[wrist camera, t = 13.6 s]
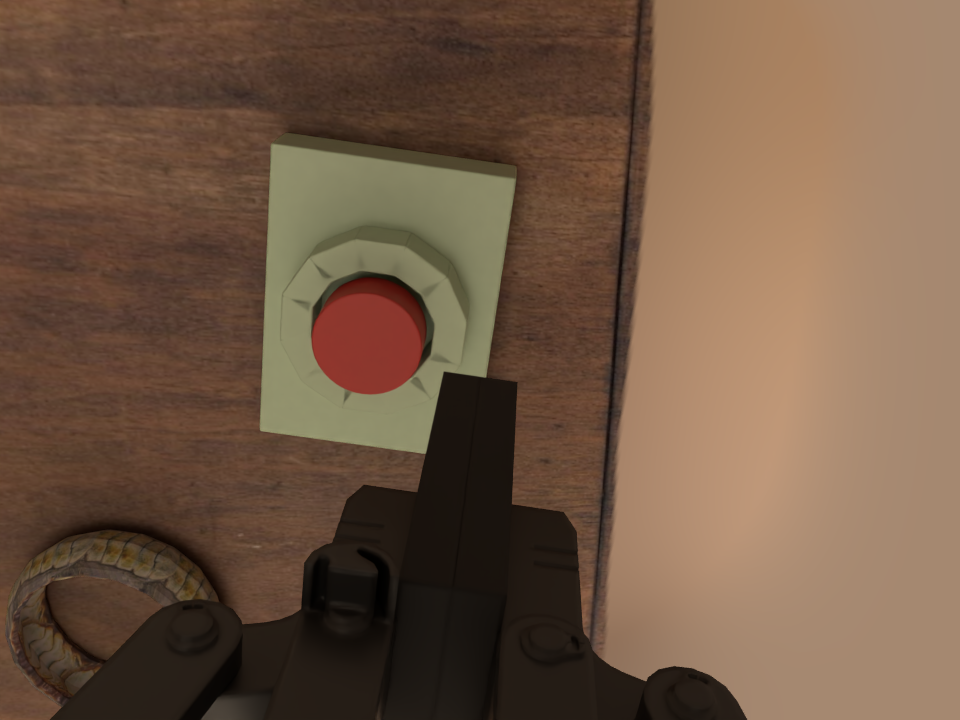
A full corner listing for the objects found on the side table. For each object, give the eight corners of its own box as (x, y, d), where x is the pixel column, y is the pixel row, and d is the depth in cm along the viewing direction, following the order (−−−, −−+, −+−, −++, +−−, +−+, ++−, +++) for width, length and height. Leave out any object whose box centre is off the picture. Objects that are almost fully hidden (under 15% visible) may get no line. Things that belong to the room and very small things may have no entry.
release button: (324, 269, 34) (314, 285, 32) (432, 284, 34) (428, 301, 32) (317, 367, 35) (307, 387, 34) (420, 382, 35) (416, 402, 34)
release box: (285, 132, 35) (257, 153, 31) (516, 165, 35) (516, 190, 32) (272, 407, 40) (247, 453, 36) (476, 435, 40) (471, 484, 37)
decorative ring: (19, 505, 43) (34, 669, 47) (-19, 547, 40) (1, 718, 44) (235, 534, 43) (232, 694, 47) (213, 577, 40) (212, 745, 44)
